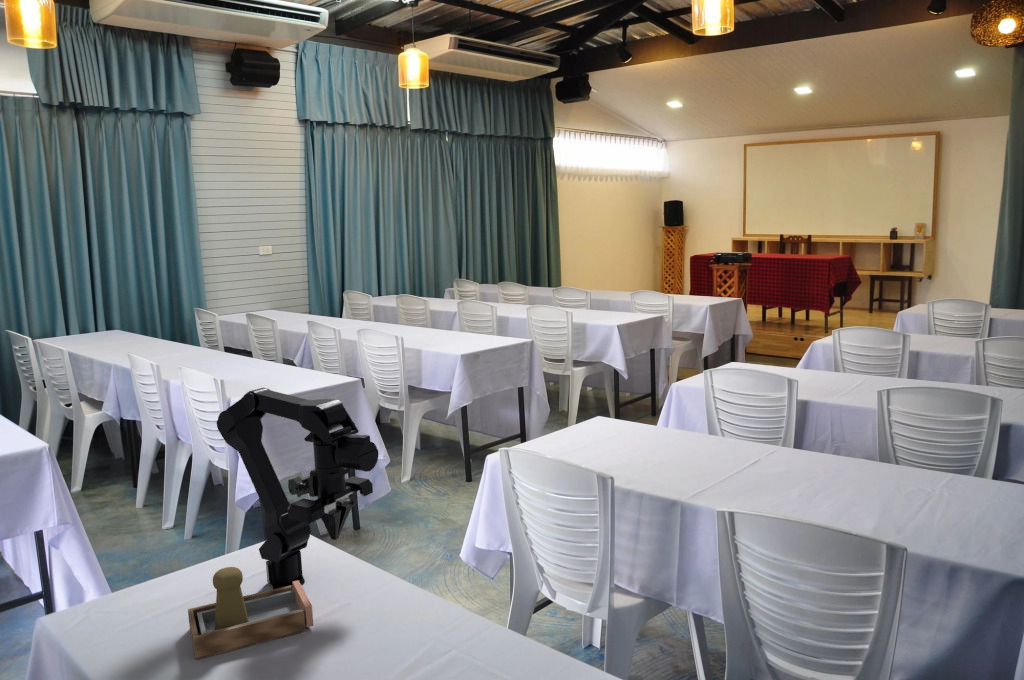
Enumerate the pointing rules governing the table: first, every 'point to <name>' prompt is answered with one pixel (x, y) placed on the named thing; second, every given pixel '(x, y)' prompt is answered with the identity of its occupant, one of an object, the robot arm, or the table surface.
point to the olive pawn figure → (229, 598)
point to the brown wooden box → (244, 629)
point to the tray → (265, 608)
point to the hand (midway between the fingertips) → (334, 539)
